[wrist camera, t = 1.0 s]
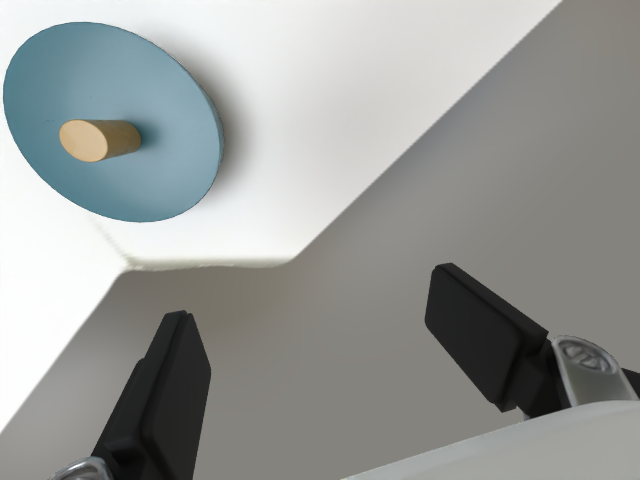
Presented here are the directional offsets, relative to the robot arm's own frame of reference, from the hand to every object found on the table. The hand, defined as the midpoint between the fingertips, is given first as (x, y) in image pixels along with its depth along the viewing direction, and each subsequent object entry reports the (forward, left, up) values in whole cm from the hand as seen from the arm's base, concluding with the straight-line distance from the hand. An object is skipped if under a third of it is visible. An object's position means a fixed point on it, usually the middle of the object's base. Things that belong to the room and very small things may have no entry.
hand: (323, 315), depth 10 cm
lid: (-6, -13, -19) cm, 24 cm away
